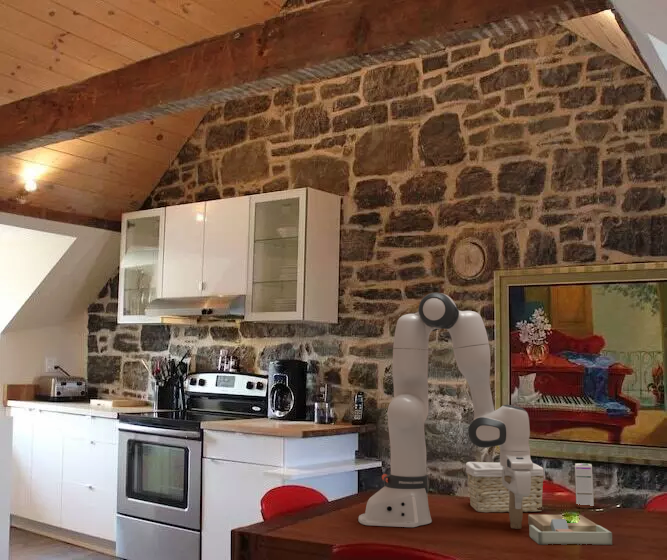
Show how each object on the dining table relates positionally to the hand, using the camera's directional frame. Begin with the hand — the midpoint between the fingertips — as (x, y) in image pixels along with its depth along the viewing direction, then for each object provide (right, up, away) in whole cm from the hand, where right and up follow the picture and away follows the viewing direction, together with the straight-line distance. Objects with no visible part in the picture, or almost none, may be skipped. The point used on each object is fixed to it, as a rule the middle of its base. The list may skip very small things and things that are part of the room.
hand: (515, 507), depth 237 cm
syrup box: (+31, -10, +34) cm, 47 cm away
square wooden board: (+13, -6, -3) cm, 15 cm away
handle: (0, -6, -1) cm, 6 cm away
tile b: (+9, -3, -12) cm, 16 cm away
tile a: (+10, -1, -18) cm, 20 cm away
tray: (+11, -5, -17) cm, 21 cm away
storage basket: (+3, -10, +31) cm, 32 cm away
